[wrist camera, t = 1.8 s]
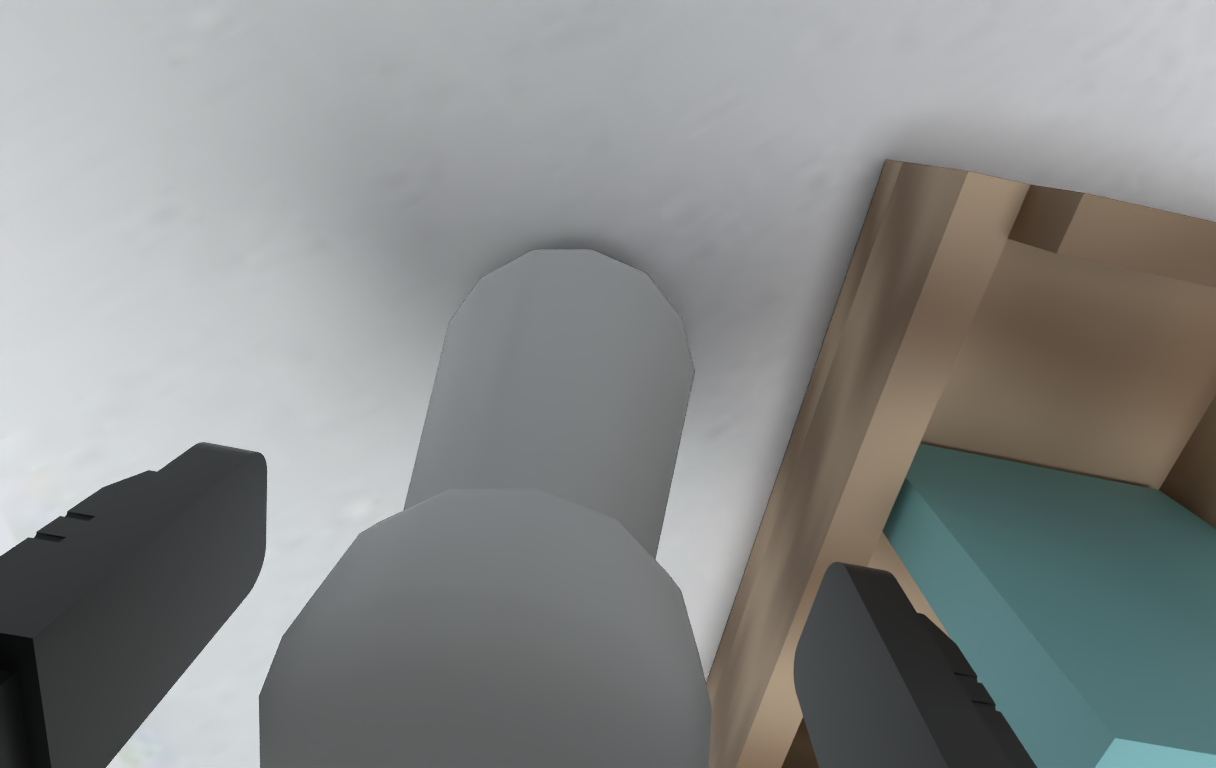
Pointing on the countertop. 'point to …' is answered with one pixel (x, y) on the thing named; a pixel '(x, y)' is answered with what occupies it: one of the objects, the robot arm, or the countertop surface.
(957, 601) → the pusher paddle
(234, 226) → the countertop surface
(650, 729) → the salt shaker
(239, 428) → the countertop surface
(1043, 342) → the wooden tray
